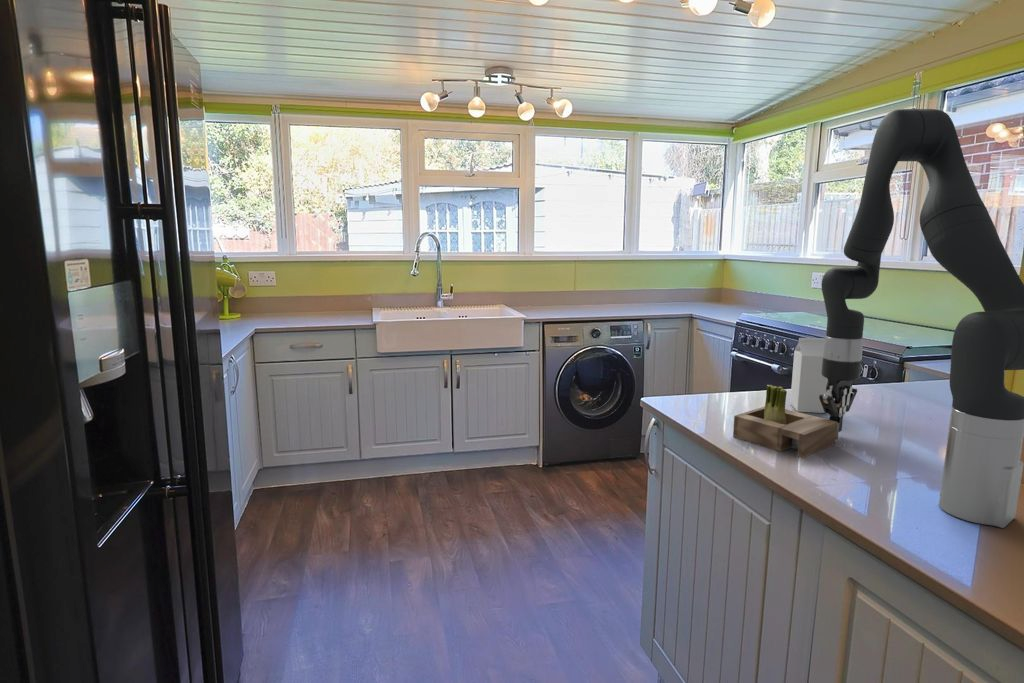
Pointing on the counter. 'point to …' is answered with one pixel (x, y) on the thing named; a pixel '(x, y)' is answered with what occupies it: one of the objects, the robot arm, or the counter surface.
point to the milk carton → (808, 375)
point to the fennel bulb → (775, 404)
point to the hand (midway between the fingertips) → (835, 431)
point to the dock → (786, 431)
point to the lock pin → (796, 442)
